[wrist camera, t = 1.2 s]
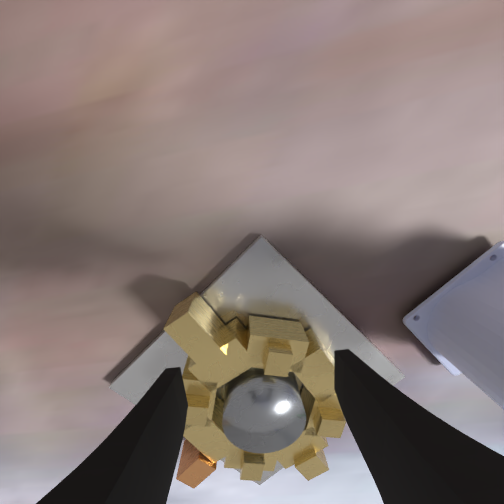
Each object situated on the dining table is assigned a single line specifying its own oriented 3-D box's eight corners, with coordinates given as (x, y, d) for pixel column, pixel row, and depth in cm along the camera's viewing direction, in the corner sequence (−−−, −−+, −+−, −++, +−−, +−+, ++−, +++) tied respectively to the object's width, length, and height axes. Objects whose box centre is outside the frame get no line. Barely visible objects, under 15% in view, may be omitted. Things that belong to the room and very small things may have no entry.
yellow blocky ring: (368, 405, 22) (390, 445, 19) (253, 468, 24) (255, 516, 21) (254, 251, 18) (257, 268, 14) (122, 342, 19) (97, 376, 16)
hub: (260, 234, 18) (266, 251, 14) (399, 369, 23) (437, 415, 18) (110, 383, 22) (77, 433, 17) (256, 478, 26) (259, 538, 21)
